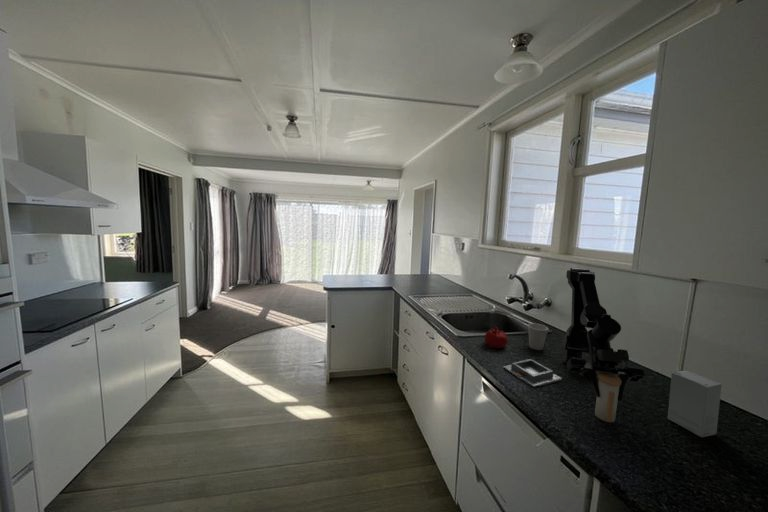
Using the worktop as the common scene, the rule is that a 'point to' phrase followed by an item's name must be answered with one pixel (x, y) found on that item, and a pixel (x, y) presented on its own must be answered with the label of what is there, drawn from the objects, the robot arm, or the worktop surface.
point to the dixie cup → (537, 336)
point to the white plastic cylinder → (607, 397)
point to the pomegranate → (496, 338)
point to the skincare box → (694, 403)
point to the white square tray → (532, 372)
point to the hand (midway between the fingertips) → (609, 398)
